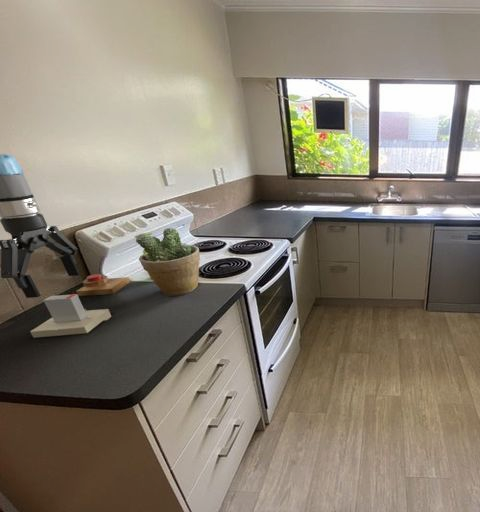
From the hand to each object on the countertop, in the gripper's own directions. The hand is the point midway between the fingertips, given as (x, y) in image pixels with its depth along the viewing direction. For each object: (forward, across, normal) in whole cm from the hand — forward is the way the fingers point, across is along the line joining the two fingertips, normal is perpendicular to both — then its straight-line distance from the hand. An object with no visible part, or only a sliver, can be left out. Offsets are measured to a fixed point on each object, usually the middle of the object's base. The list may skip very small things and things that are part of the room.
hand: (55, 285), depth 85 cm
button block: (+15, +27, +9) cm, 32 cm away
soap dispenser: (+15, +34, -7) cm, 38 cm away
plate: (+15, 0, 0) cm, 15 cm away
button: (+11, +28, +12) cm, 33 cm away
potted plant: (+15, +22, -21) cm, 34 cm away
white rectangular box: (+12, 0, 0) cm, 12 cm away
